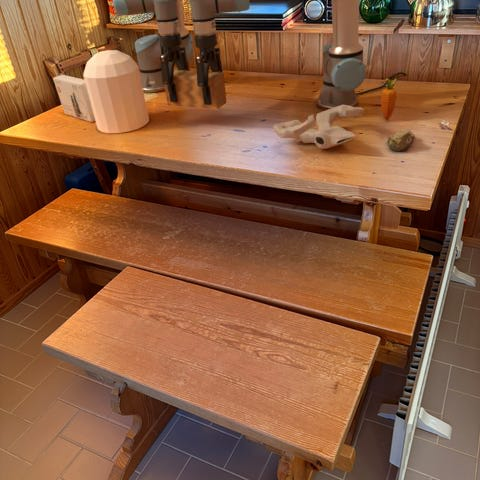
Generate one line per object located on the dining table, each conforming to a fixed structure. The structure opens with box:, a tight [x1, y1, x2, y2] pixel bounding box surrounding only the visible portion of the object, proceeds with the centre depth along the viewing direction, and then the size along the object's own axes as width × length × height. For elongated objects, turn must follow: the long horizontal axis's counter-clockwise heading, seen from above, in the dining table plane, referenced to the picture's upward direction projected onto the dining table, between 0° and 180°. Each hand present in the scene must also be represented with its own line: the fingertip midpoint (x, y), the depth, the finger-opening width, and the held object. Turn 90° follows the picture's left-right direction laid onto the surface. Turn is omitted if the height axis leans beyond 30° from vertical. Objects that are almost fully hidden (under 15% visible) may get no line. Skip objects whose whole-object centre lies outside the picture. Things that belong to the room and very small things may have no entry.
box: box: [164, 69, 228, 111], centre depth 170 cm, size 22×7×11 cm, turn 64°
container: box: [82, 49, 150, 134], centre depth 178 cm, size 21×21×28 cm
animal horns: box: [273, 105, 365, 150], centre depth 153 cm, size 28×26×12 cm
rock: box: [387, 129, 416, 152], centre depth 146 cm, size 11×6×10 cm
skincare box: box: [52, 74, 96, 123], centre depth 193 cm, size 21×6×16 cm, turn 49°
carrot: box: [380, 78, 398, 122], centre depth 161 cm, size 5×5×15 cm
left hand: (179, 98), depth 175 cm, fingers open, 8 cm apart
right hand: (213, 100), depth 170 cm, fingers closed on box, 7 cm apart
